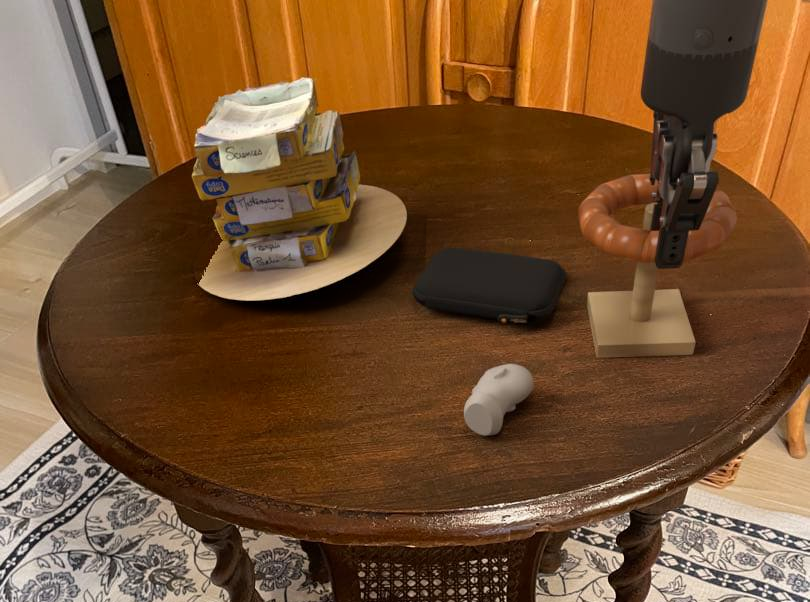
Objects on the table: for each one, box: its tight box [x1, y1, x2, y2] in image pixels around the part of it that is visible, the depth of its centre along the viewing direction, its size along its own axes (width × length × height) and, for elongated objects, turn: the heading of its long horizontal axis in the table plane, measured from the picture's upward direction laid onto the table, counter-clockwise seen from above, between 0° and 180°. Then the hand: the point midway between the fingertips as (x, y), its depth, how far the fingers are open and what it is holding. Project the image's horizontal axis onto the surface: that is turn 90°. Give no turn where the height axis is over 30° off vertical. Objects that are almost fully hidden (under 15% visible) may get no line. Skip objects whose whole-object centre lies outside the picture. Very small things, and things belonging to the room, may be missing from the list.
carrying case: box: [412, 246, 568, 325], centre depth 88 cm, size 11×3×15 cm
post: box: [586, 203, 696, 359], centre depth 80 cm, size 9×9×12 cm
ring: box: [577, 173, 738, 264], centre depth 76 cm, size 13×13×3 cm
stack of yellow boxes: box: [191, 77, 408, 302], centre depth 92 cm, size 25×25×17 cm
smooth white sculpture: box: [463, 363, 534, 437], centre depth 76 cm, size 4×8×5 cm
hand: (664, 255), depth 73 cm, fingers closed on ring, 2 cm apart
